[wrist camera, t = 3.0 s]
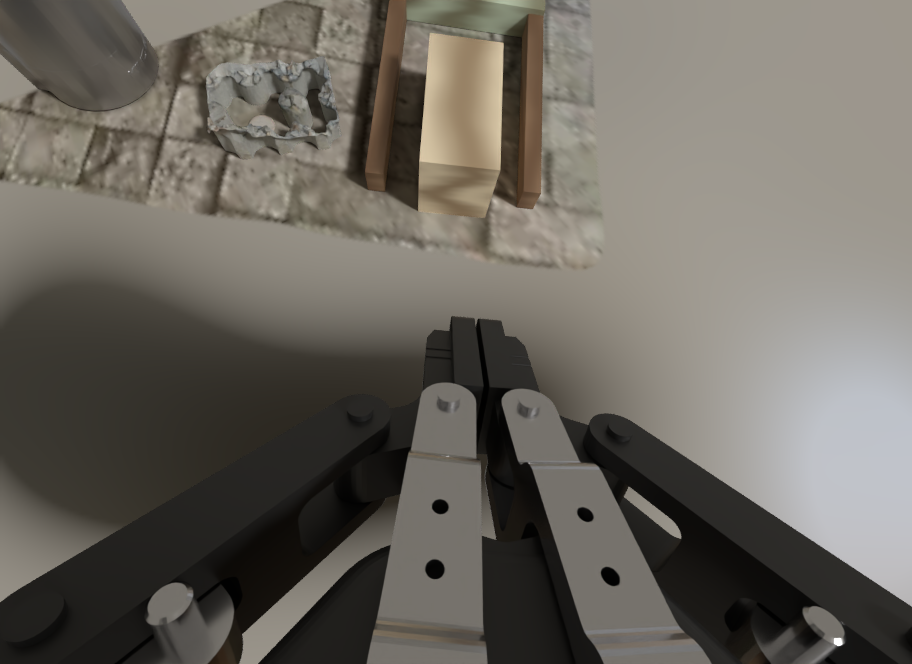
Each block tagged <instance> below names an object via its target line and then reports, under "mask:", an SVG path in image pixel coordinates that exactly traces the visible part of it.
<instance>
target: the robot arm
mask: <svg viewBox="0 0 912 664" xmlns="http://www.w3.org/2000/svg"><path fill="white" fill-rule="evenodd" d="M0 54H1V55H2V56H3V57H4V58H5V59H6V60H8V61H9V62H10V63H11V64H12V65H13V66H14V67H15V68H16V69H17V70H18V71H19V72H21V73H22V74H23V75H24V76H25V77H26V78H27V79H28V80H29V81H30V82H32V84H33V85H35V86H36V87H37V88H38V89H42V90H47V91H50V92H52V93H53V94H54V95H55V96H56V97H57V98H59V99H60V100H61V101H63V102H64V103H66V104H68V105H70V106H73V107H76V108H79V109H84V110H91V111H99V110H110V109H115V108H119V107H122V106H124V105H127V104H129V103H131V102H133V101H135V100H137V99H138V98H140V97H141V96H142V95H143V94H144V93H146V92H147V91H148V89H149V88H150V87H151V86H152V84H153V83H154V81H155V78H156V76H157V72H158V67H159V66H158V57H157V55H156V53H155V50H154V49H153V47H152V46H151V44H150V43H149V41H148V40H147V38H146V37H145V35H144V34H143V32H142V31H141V29H140V28H139V26H138V25H137V23H136V22H135V20H134V19H133V17H132V16H131V14H130V13H129V11H128V10H127V8H126V6H125V5H124V3H123V2H122V0H0ZM476 454H487V459H488V463H487V468H486V472H485V482H486V488H487V493H488V498H489V504H490V509H491V514H492V520H493V525H494V531H495V536H496V540H494V539H490V538H487V537H484V536H482V521H481V464H480V459H476ZM628 487H631V488H632V489H633V490H634V491H636V492H637V493H638V494H640V495H641V496H642V497H643V498H645V499H646V500H647V501H649V502H650V503H651V504H652V505H654V506H655V507H656V508H658V509H659V510H660V511H661V512H663V513H664V514H665V515H667V516H668V517H669V518H670V519H672V520H673V521H674V522H675V523H676V525H677V526H678V528H679V530H680V532H681V536H682V537H681V539H679V538H676V537H674V536H672V535H670V534H669V533H668V532H666V531H665V530H664V529H663V528H662V527H660V526H659V525H658V524H656V523H655V522H654V521H653V520H652V519H650V518H649V517H648V516H647V515H645V514H644V513H643V512H642V511H640V510H639V509H638V508H637V507H635V506H634V505H633V504H632V503H630V502H629V501H628V500H627V499H625V498H624V495H625V493H626V491H627V489H628ZM399 494H401V495H400V500H399V506H398V511H397V516H396V521H395V527H394V532H393V537H392V542H391V545H389V546H386V547H384V548H381V549H379V550H377V551H375V552H373V553H371V554H369V555H368V556H366V557H364V558H363V559H361V560H360V561H358V562H357V563H356V564H355V565H354V566H352V567H351V568H350V569H349V570H348V571H347V572H346V573H345V574H344V575H343V576H342V577H341V578H340V579H339V580H338V581H337V582H336V583H335V584H334V585H333V586H332V587H331V588H330V589H329V590H328V591H327V592H326V593H325V594H324V595H323V596H322V598H321V599H320V600H319V601H318V602H317V603H316V604H315V605H314V606H313V607H312V608H311V609H310V610H309V611H308V612H307V613H306V614H305V615H304V616H303V617H302V618H301V619H300V620H299V622H298V623H297V624H296V625H295V626H294V627H293V628H292V629H291V630H290V631H289V632H288V633H287V634H286V635H285V636H284V637H283V638H282V639H281V641H279V642H278V643H277V645H276V646H275V647H274V648H273V649H272V650H271V651H270V652H269V653H268V654H267V655H266V656H265V657H264V658H263V659H262V660H261V661H260V662H259V663H258V664H912V607H911V606H910V605H908V604H907V603H905V602H904V601H902V600H901V599H899V598H898V597H896V596H895V595H893V594H892V593H890V592H889V591H887V590H886V589H884V588H882V587H881V586H880V585H878V584H877V583H875V582H874V581H872V580H870V579H869V578H867V577H866V576H864V575H863V574H861V573H860V572H858V571H857V570H855V569H854V568H852V567H851V566H849V565H848V564H846V563H845V562H843V561H842V560H840V559H839V558H837V557H836V556H834V555H833V554H831V553H830V552H828V551H827V550H825V549H824V548H822V547H820V546H819V545H817V544H816V543H815V542H813V541H811V540H810V539H808V538H807V537H805V536H804V535H803V534H801V533H799V532H798V531H796V530H795V529H793V528H792V527H790V526H789V525H787V524H786V523H784V522H783V521H781V520H780V519H778V518H777V517H775V516H774V515H772V514H771V513H769V512H767V511H766V510H765V509H763V508H761V507H760V506H759V505H757V504H756V503H754V502H752V501H751V500H750V499H748V498H747V497H745V496H744V495H742V494H741V493H739V492H737V491H736V490H734V489H733V488H731V487H730V486H728V485H727V484H725V483H724V482H722V481H721V480H719V479H718V478H716V477H715V476H713V475H712V474H710V473H709V472H707V471H706V470H704V469H703V468H701V467H700V466H698V465H697V464H695V463H694V462H692V461H691V460H689V459H687V458H686V457H685V456H683V455H681V454H680V453H679V452H677V451H675V450H674V449H672V448H671V447H670V446H668V445H666V444H665V443H663V442H662V441H660V440H659V439H657V438H656V437H654V436H653V435H651V434H650V433H648V432H647V431H645V430H644V429H642V428H641V427H639V426H638V425H636V424H635V423H633V422H632V421H630V420H628V419H626V418H624V417H621V416H618V415H614V414H598V415H596V416H594V417H593V418H592V419H591V420H590V423H589V425H586V424H583V423H580V422H576V421H573V420H570V419H567V418H564V417H562V416H560V415H558V412H557V410H556V408H555V406H554V404H553V403H552V402H551V400H549V399H548V398H547V397H546V396H544V395H542V394H541V393H540V391H539V389H538V385H537V382H536V379H535V376H534V373H533V370H532V367H531V363H530V360H529V359H528V354H527V351H526V348H525V346H524V345H523V344H522V343H521V342H520V341H519V340H518V339H517V338H516V337H509V336H505V334H504V330H503V326H502V322H501V321H498V320H488V319H478V320H477V324H476V326H475V319H474V318H466V317H455V316H452V317H451V322H450V329H449V331H442V330H434V331H433V332H432V333H431V334H430V335H429V336H428V337H427V344H426V354H425V364H424V374H423V388H422V394H421V396H420V397H419V398H418V399H417V400H415V401H414V402H412V403H410V404H408V405H405V406H401V407H396V408H389V406H388V405H387V403H386V402H384V401H383V400H382V399H380V398H378V397H375V396H372V395H366V394H358V395H351V396H347V397H345V398H342V399H340V400H339V401H337V402H335V403H334V404H332V405H330V406H328V407H327V408H325V409H323V410H322V411H320V412H318V413H317V414H315V415H313V416H312V417H310V418H308V419H307V420H305V421H303V422H301V423H300V424H298V425H296V426H295V427H293V428H291V429H289V430H288V431H286V432H285V433H283V434H281V435H279V436H278V437H276V438H274V439H272V440H271V441H269V442H267V443H266V444H264V445H262V446H261V447H259V448H257V449H256V450H254V451H252V452H250V453H249V454H247V455H246V456H244V457H242V458H240V459H239V460H237V461H235V462H234V463H232V464H230V465H228V466H227V467H225V468H224V469H222V470H220V471H218V472H217V473H215V474H213V475H211V476H210V477H208V478H206V479H205V480H203V481H201V482H200V483H198V484H197V485H194V486H193V487H191V488H190V489H188V490H186V491H184V492H183V493H181V494H179V495H178V496H176V497H174V498H172V499H171V500H169V501H168V502H166V503H164V504H162V505H161V506H159V507H157V508H156V509H154V510H152V511H150V512H149V513H147V514H145V515H144V516H142V517H140V518H139V519H137V520H135V521H133V522H132V523H130V524H128V525H127V526H125V527H124V528H122V529H120V530H118V531H116V532H115V533H113V534H111V535H110V536H108V537H106V538H105V539H103V540H101V541H100V542H98V543H96V544H95V545H93V546H91V547H89V548H88V549H86V550H84V551H83V552H81V553H79V554H77V555H76V556H74V557H73V558H71V559H69V560H67V561H66V562H64V563H62V564H61V565H59V566H57V567H55V568H54V569H52V570H50V571H49V572H47V573H45V574H44V575H42V576H40V577H39V578H37V579H35V580H33V581H32V582H30V583H29V584H27V585H25V586H23V587H22V588H20V589H18V590H17V591H16V592H14V593H12V594H11V595H10V596H8V597H7V598H6V599H4V600H3V601H2V602H0V664H239V663H240V660H241V656H242V651H243V636H242V634H243V633H244V632H245V631H246V630H247V629H248V628H249V627H250V626H251V625H253V624H254V623H255V622H256V621H257V620H258V619H259V618H260V617H261V616H262V615H264V614H265V613H266V612H267V611H268V610H269V609H270V608H271V607H272V606H273V605H274V604H276V603H277V602H278V601H279V600H280V599H281V598H282V597H283V596H284V595H285V594H286V593H288V592H289V591H290V590H291V589H292V588H293V587H294V586H295V585H296V584H297V583H298V582H300V580H302V579H303V578H304V577H305V576H306V575H307V574H308V573H309V572H310V571H311V570H313V569H314V568H315V567H316V566H317V565H318V564H319V563H320V562H321V561H322V560H323V559H325V558H326V557H327V556H328V555H329V554H330V553H331V552H332V551H333V550H334V549H335V548H337V546H339V545H340V544H341V543H342V542H343V541H344V540H345V539H346V538H347V537H349V536H350V535H351V534H352V533H353V532H354V531H355V530H356V529H357V528H358V527H359V526H361V525H362V524H363V523H364V522H365V521H366V520H367V519H368V518H369V517H370V516H371V515H372V514H374V513H375V512H376V511H377V510H378V509H379V508H380V507H381V506H382V504H383V503H384V501H385V499H386V498H387V497H391V496H395V495H399Z"/></svg>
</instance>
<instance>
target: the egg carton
mask: <svg viewBox="0 0 912 664" xmlns="http://www.w3.org/2000/svg"><path fill="white" fill-rule="evenodd" d="M330 79H331V75H330V72H329V69H328V65H327V63H326V60H325V57H324V56H320V57H318V58H315V59H311V60H305V61H304V62H303V63H295V62H293V61H291V63H290V64H286V63H284V62H283V61H281V60H276V61H274V62H270V63H255V64H252V65H250V64H238V63H229V62H228V63H222V64H220V65H218V66H217V67H216V68H215V69H214V70H213V71H212V72H211V73H210V74H209V75H208V76H207V78H206V89H207V97H208V99H207V104H208V108H209V112H210V118H209V117H208V119H207V120H208V125H207V131H208V134H209V133H210V131H211V130H212V131H214V133H215V135H216V136H217V138H218V140H219V141H220V143H221V144H222V146H223V147H224V149H225V151H230V152H234V153H236V154H237V155H238V156H239V157H240V159H252V158H253V157H254V154H255V152H256V151H257V150H258V149H260V148H262V147H266V146H270V147H273V148H275V149H277V150H278V151H279V153H280V155H283V154H287V153H291V152H293V149H294V147H295V146H296V145H297V144H298V143H301V142H305V141H306V142H311V143H313V144H315V145H316V146H317V148H318V149H319V150H326V149H329V148H330V147H331V143H332V141H334V140H335V139H336V138H339V137H341V131H340V126H339V116H338V112H337V109H336V107H335V97H334V94H333V88H332V84H331V80H330ZM310 89H319V90H320V93H319V94H318V99H319V101H320V104H321V107H322V111H323V115H324V118H325V121H326V122H327V123H328V124H327V125H326V132H325V133H315V132H314V130H312V129H311V127H312V125H313V117H312V114H311V111H310V108H309V105H308V101H307V99H306V96H307V94H308V90H310ZM272 93H281V94H280V96H279V99H278V102H279V105H280V107H281V109H282V112H283V114H284V117H285V119H286V121H287V124H288V126H289V127H290V130H289V131H288V132H287V133H286V135H285V137H283V136H279V135H277V134H276V133H275V132H274V129H275V123H274V121H273V120H272V119H271V118H270V117H268V116H265V115H257V116H255V117H253V118H252V119H251V120H250V122H249V125H248V126H246V127H240V126H237V125H234V123H233V121H232V119H231V118H230V116H229V114H228V112H227V110H226V109H225V108H227V107H228V106H230V104H231V102H232V98H234V97H244V99H245V101H246V102H248V103H249V104H251V105H255V106H259V105H262V104H265V103H266V102H267V101H268V100H269V98H270V95H271V94H272Z"/></svg>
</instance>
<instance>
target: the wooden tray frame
mask: <svg viewBox="0 0 912 664" xmlns="http://www.w3.org/2000/svg"><path fill="white" fill-rule="evenodd" d="M544 12H545V0H389V7H388V14H387V21H386V28H385V35H384V42H383V49H382V56H381V63H380V70H379V77H378V84H377V91H376V98H375V105H374V112H373V119H372V126H371V133H370V140H369V147H368V154H367V161H366V168H365V176H366V181H367V187H368V190H374V191H383V192H385V188H386V180H387V172H388V164H389V156H390V148H391V140H392V133H393V125H394V117H395V109H396V101H397V93H398V85H399V77H400V69H401V61H402V53H403V45H404V37H405V30H406V22H407V20H411V21H418V22H424V23H431V24H437V25H444V26H450V27H457V28H463V29H470V30H477V31H483V32H490V33H496V34H503V35H509V36H516V37H522V52H521V84H520V115H519V147H518V179H517V207H519V208H527V209H533V207H534V205H535V204H536V202H537V200H538V198H539V196H540V194H541V146H542V77H543V15H544Z"/></svg>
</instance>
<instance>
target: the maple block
mask: <svg viewBox="0 0 912 664" xmlns="http://www.w3.org/2000/svg"><path fill="white" fill-rule="evenodd" d="M503 46H504V43H500V42H493V41H485V40H478V39H471V38H463V37H456V36H449V35H442V34H434V33H430V41H429V52H428V64H427V76H426V88H425V100H424V112H423V123H422V135H421V147H420V159H419V197H418V212H429V213H439V214H449V215H459V216H469V217H479V218H485V215H486V212H487V209H488V206H489V203H490V200H491V197H492V194H493V191H494V188H495V185H496V182H497V179H498V176H499V173H500V163H501V124H502V85H503Z"/></svg>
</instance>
